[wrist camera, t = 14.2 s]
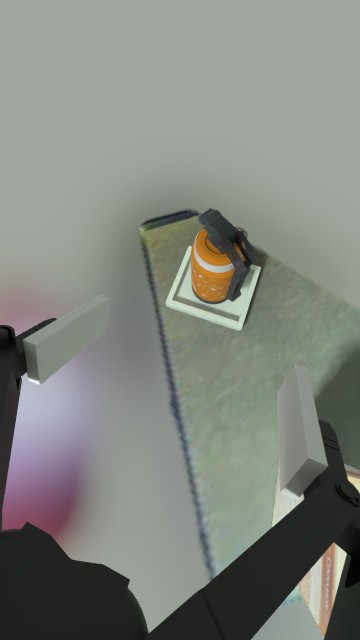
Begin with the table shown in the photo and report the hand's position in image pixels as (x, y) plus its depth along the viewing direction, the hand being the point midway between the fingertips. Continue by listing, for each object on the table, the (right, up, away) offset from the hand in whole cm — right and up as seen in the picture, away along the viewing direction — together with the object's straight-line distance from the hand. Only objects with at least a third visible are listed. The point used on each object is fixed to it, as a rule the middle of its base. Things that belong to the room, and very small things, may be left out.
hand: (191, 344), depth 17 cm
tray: (+6, +8, +37) cm, 38 cm away
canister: (+7, +8, +36) cm, 38 cm away
